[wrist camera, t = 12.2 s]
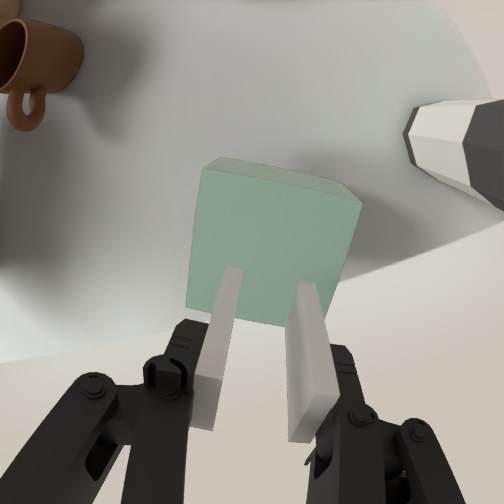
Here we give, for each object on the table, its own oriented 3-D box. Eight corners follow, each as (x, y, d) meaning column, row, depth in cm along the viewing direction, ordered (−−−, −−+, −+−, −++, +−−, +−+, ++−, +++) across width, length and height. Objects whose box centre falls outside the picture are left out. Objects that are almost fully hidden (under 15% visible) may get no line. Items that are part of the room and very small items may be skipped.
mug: (96, 113, 26) (38, 115, 17) (46, 138, 27) (-11, 150, 18) (82, 20, 22) (29, 1, 13) (34, 51, 23) (-21, 44, 14)
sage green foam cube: (204, 264, 26) (185, 307, 20) (221, 156, 22) (202, 168, 16) (309, 285, 26) (319, 332, 20) (339, 181, 23) (362, 202, 16)
